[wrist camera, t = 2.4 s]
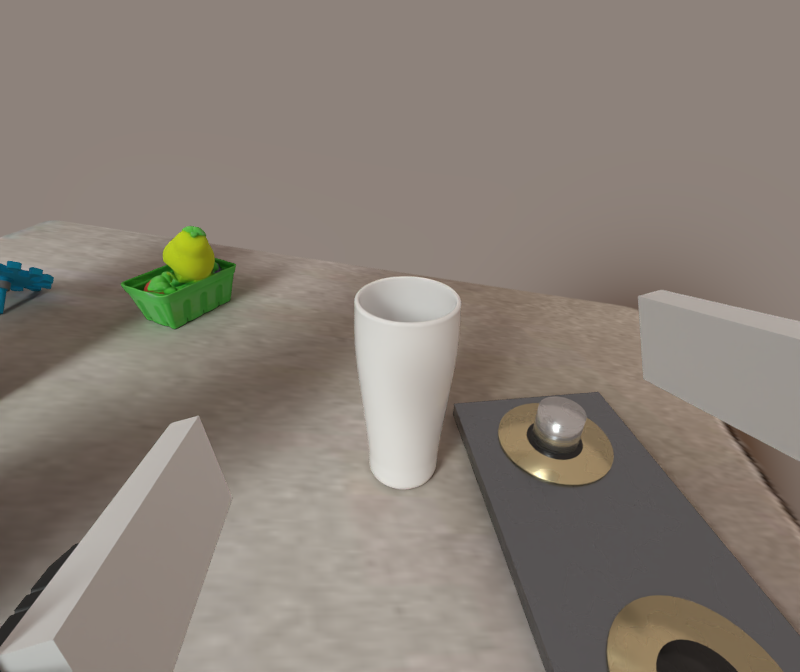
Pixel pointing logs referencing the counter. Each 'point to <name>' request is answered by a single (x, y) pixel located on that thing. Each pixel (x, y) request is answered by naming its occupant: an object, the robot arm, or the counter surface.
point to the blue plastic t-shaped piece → (21, 280)
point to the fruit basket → (183, 281)
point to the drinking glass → (405, 372)
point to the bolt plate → (613, 547)
